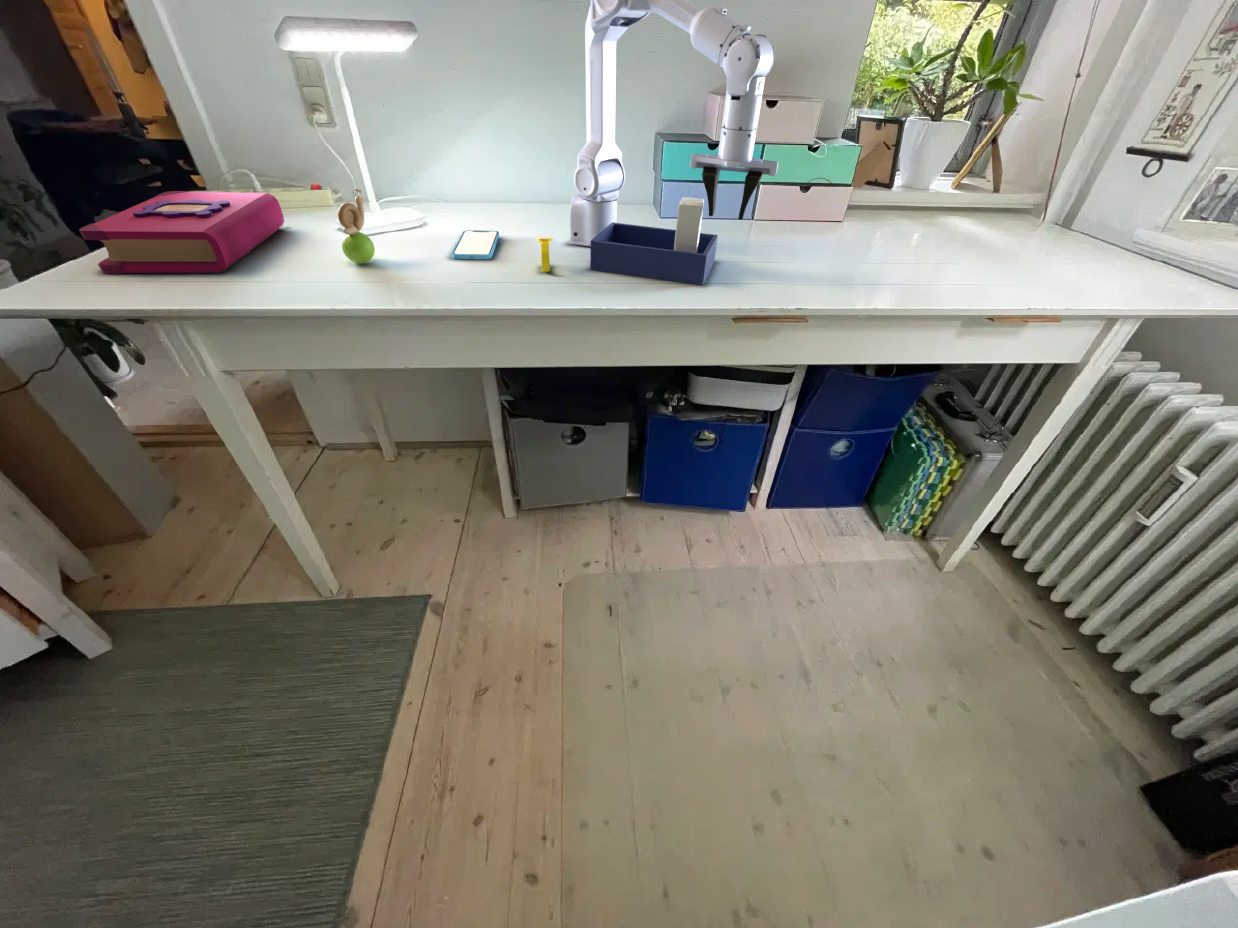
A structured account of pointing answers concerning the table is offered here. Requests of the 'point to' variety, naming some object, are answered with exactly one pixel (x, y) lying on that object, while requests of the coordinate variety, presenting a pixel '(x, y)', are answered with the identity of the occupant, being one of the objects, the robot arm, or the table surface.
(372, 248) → the snail figurine
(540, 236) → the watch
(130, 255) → the book
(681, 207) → the cosmetic box
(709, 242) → the bin
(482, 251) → the smartphone
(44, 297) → the table surface
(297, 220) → the table surface
